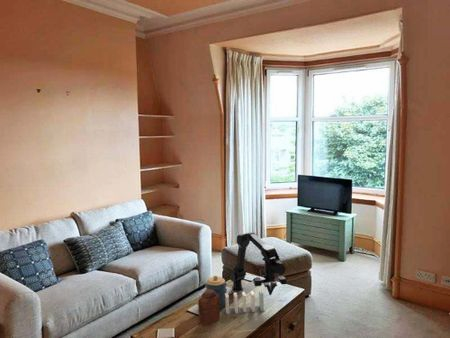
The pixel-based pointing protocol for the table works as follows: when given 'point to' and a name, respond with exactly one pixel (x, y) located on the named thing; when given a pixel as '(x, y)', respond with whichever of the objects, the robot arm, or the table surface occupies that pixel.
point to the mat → (241, 310)
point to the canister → (217, 288)
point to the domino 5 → (261, 301)
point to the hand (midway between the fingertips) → (270, 295)
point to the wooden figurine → (209, 307)
